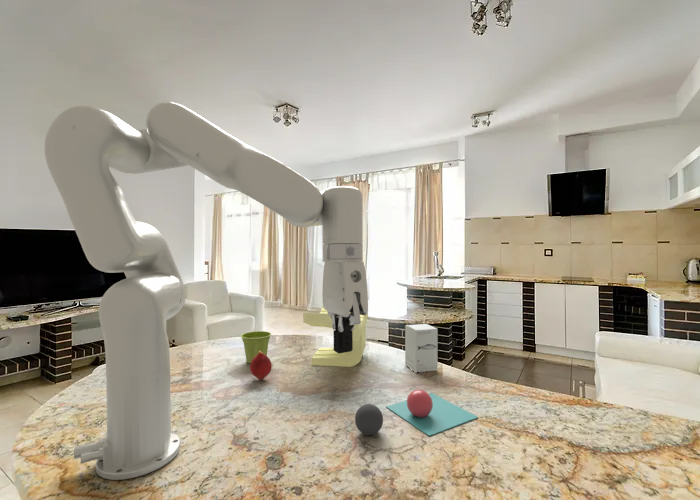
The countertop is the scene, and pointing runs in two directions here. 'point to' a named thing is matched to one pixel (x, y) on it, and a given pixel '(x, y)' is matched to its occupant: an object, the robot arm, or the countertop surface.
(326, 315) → the slatted curved stool
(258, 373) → the onion
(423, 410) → the red ball
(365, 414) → the dark gray ball
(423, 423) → the teal mark
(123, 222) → the robot arm
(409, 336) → the supplement box
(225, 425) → the countertop surface
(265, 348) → the plant pot
